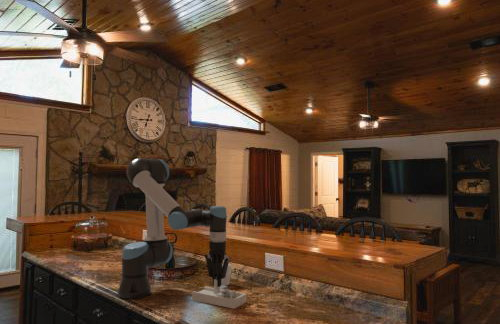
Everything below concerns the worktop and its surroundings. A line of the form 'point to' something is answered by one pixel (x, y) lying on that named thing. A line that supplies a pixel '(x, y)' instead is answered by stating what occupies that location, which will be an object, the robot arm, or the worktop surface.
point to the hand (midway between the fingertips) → (216, 293)
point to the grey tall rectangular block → (223, 287)
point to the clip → (229, 294)
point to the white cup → (226, 280)
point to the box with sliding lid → (218, 298)
